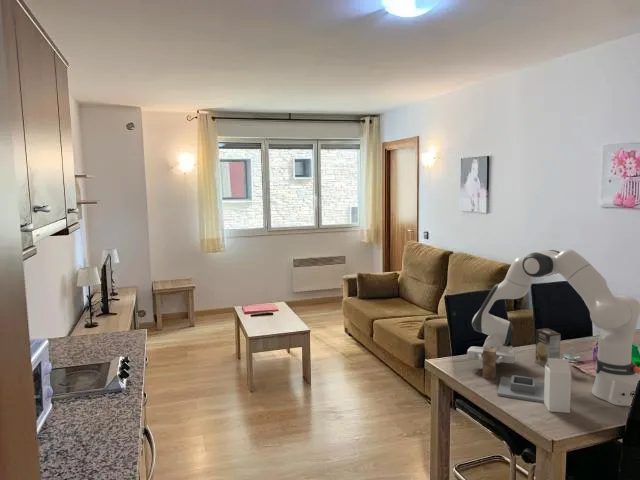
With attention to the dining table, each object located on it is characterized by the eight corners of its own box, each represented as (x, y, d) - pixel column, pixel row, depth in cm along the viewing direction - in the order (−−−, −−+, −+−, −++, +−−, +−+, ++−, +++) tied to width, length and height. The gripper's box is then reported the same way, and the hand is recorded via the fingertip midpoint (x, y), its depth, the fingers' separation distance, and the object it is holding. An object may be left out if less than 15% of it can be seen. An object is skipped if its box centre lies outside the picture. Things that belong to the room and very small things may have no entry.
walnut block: (495, 374, 206) (496, 348, 205) (494, 378, 202) (495, 352, 201) (483, 373, 209) (484, 347, 207) (482, 377, 204) (482, 350, 203)
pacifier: (577, 364, 216) (580, 360, 221) (578, 351, 215) (581, 347, 220) (560, 361, 221) (563, 357, 226) (560, 348, 220) (564, 344, 225)
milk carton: (570, 413, 170) (571, 363, 168) (549, 411, 172) (550, 362, 170) (564, 404, 177) (565, 356, 175) (543, 403, 178) (545, 355, 176)
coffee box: (534, 362, 220) (535, 329, 218) (546, 360, 221) (547, 327, 219) (548, 369, 211) (549, 334, 209) (560, 367, 212) (561, 333, 210)
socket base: (547, 385, 194) (547, 375, 194) (547, 403, 178) (547, 393, 178) (501, 378, 202) (501, 369, 202) (497, 395, 186) (497, 385, 186)
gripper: (469, 341, 220) (464, 350, 208) (516, 346, 211) (514, 356, 199) (469, 354, 221) (464, 364, 208) (515, 360, 212) (514, 371, 200)
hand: (489, 360), depth 204 cm, fingers closed on walnut block, 5 cm apart
